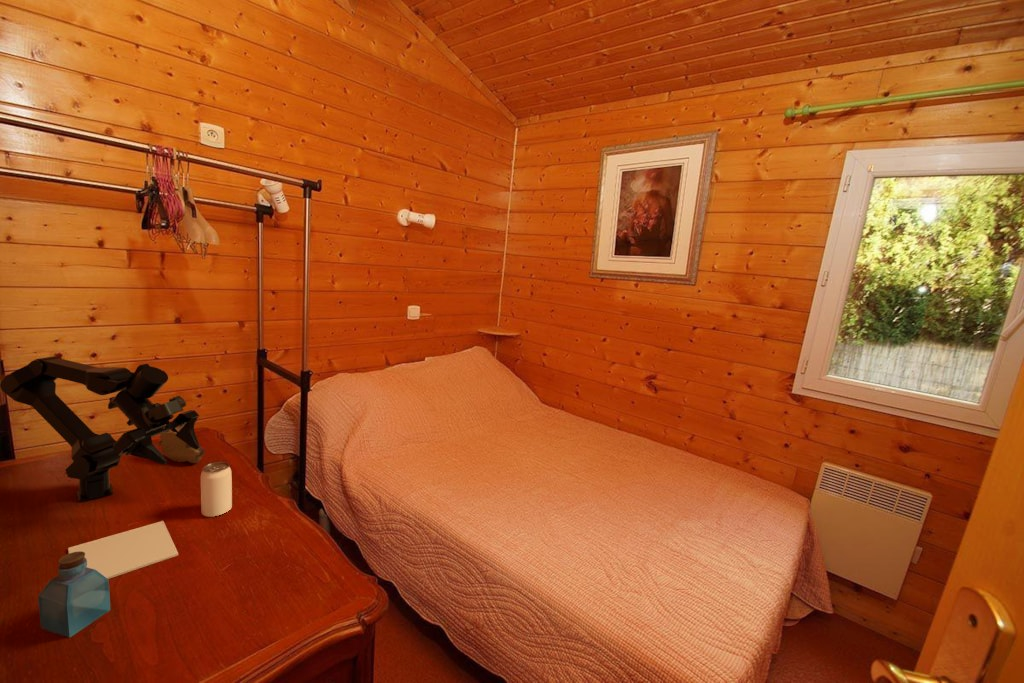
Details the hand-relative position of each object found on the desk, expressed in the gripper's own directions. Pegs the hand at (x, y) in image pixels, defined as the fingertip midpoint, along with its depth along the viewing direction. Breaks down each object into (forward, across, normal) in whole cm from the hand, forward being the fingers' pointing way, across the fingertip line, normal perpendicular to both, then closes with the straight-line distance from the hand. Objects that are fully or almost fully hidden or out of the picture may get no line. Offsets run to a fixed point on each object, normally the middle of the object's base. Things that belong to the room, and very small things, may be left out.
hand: (182, 455), depth 108 cm
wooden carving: (-7, +22, +26) cm, 35 cm away
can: (+16, +1, +5) cm, 17 cm away
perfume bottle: (+18, -34, +3) cm, 38 cm away
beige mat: (+11, -17, +9) cm, 23 cm away
